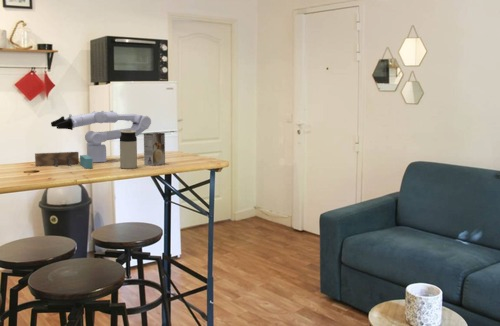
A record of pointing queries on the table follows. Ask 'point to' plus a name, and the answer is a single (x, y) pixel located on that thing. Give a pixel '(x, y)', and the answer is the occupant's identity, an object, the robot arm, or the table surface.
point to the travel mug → (128, 149)
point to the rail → (86, 162)
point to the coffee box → (154, 149)
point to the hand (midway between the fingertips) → (53, 125)
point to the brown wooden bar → (56, 159)
